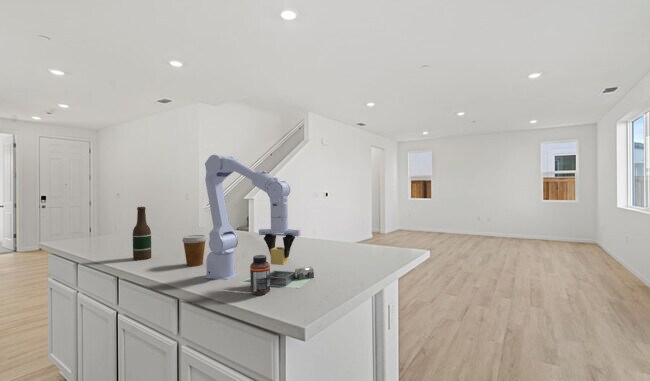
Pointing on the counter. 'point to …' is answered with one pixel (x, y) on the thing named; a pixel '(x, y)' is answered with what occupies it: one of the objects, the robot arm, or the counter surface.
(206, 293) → the counter surface
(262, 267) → the supplement bottle
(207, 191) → the robot arm
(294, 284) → the mat
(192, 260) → the disposable coffee cup
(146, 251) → the beer bottle
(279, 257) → the yellow block
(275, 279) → the frame
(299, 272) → the shaft
